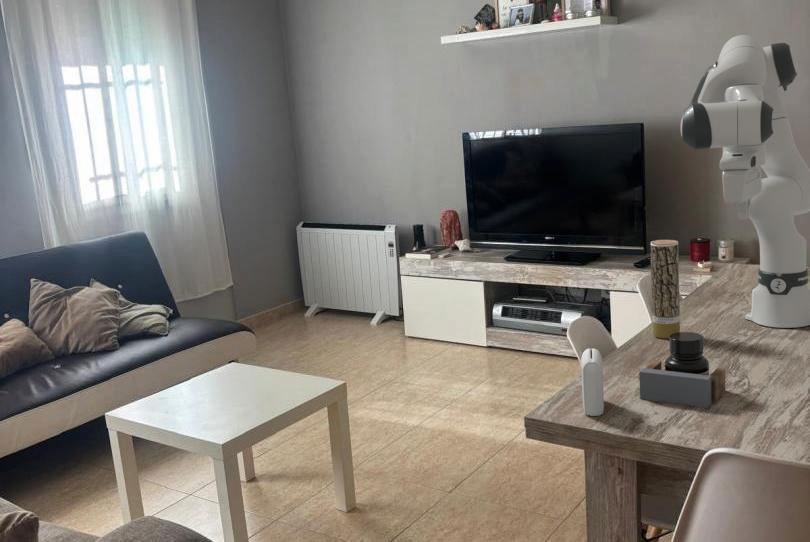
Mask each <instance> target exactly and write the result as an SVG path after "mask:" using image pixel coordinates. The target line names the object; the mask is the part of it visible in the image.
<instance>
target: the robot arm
mask: <svg viewBox="0 0 810 542" xmlns="http://www.w3.org/2000/svg"><path fill="white" fill-rule="evenodd" d="M798 59H799V58H798V56H797V54H796V53H795V51H794V49H792V48H791V46H790V44H787V43H786V42H777V43H771V45H768V46H764V47H763V46H762V44H761V43H760V42H759V40H758V39H757V38H755V37H754V36H752V35H747V34H739V35H735V36H733V37H732V38H730V39H729V40H728V41H726V43H725V44H724V45H723V46H722V49H721V51H720V53H719V56H718V59H717V61H715V62H713V64H712V65H711V66H709V67H708V68H707V69H706V71H705V73H704V75H702V77H701V79H700V81H699V83H698V84H697V87H696V89H695V92H694V93H693V96H692V97H691V98H692V99H691V101H690V102H689V105H688V107H686V108H685V110H684V112H683V115H682V117H681V120H680V135H681V139H682V142H683V143H684V144H685V145H686V146H687V147H688V148H690V149H692V150H693V151H701V150H709V149H716V148H717V149H719V148H722V154H721V155H722V157H721V158H720V160H719V169H720V171H722V173H721V176H722V190H723V192H722V193H723V199H724V203H725V204H726V205H736V208H737V215H738V216H737V219H739V220H743V221H745V220H747V219H749V220H750V221H751V222H752V224H753V225H754V228H755V230H756V233H757V236H758V237H757V238H758V242H759V265H760V266H759V269H758V274H757V283H758V285H757V286H756V287H754V288H753V289H752V292H751V294H752V295H751V311H750V312H748V313H746V314H745V316H744V319H745V320H749V321H752V322H754V323H755V324H758V325H760V326H761V325H762V326H765V327H770V328H779V329H780V328H783V329H784V328H787V329H789V328H802V327H808V326H810V286H809V271H808V268H807V241H806V238H805V236H804V235H802V234H800V233H799V231H798V229H797V226H796V223H795V216H799V215H802V214H803V215H804V214H807V213H809V212H810V168H809V166H808V165H807V163H806V162H805V160H804V159H803V157H802V155H801V154H800V151H799V150H798V147H797V145H796V142H795V138H794V135H793V132H792V131H793V130H792V126H791V124H790V120H789V116H788V113H787V108H786V106H785V102H784V100H783V98H782V95H781V94H780V92H779V88H780V87H782V89H783V91H784V92H786V91H787V90H788V86H789V85H791V84H792V83H793V82H794V81H795V78H796V77H797V76H798V69H799V61H798ZM762 170H763V171H764V173H765V174H766V176H767V177H765V178H764V177H763V178H762Z"/></svg>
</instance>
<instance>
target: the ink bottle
mask: <svg viewBox="0 0 810 542" xmlns="http://www.w3.org/2000/svg"><path fill="white" fill-rule="evenodd" d="M668 340H669V341H668V342H669V353H670V355H669V356H668V357H666V359H665V360H664V371H673V372H682V373H690V374H699V375H708V376H710V363H709V360H708V359H707V358H706V357H705V356H704V355H703V354H704V335H702V334H701V333H698V332H693V331H692V332H691V331H680V332H678V333H673V334H671V335H670V337H669V339H668Z"/></svg>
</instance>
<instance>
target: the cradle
mask: <svg viewBox="0 0 810 542" xmlns="http://www.w3.org/2000/svg"><path fill="white" fill-rule="evenodd" d="M646 368H647V369H656V370H663V369H662V360H653V361H652V362H651V363H650V364H649V365H647V366H646ZM709 376H711V398H712V404H711V405H714V404H715V403H717V401H718V400H719V399H720V397H721V396H722V395H723V394H724V393H725V391H726V367H721V366H720V367H719V366H717V367H716V368H715V370H714V371H713V372H712V373H711V374H709Z"/></svg>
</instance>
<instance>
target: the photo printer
mask: <svg viewBox="0 0 810 542" xmlns="http://www.w3.org/2000/svg"><path fill="white" fill-rule="evenodd" d="M580 362H581V363H580V365H581V367H580V368H581V391H582V392H581V393H582V406H583V412H584V414H585V415H587V416H589V415H590V417H600V416H601V415H603V414H604V408H605V399H604V396H605V394H604V375H603V374H604V373H603V357H602V354H601V353H600V351H599V350H598V349H596V348H586V349H585V350H584V351H583V353H582V355H581V361H580Z"/></svg>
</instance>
